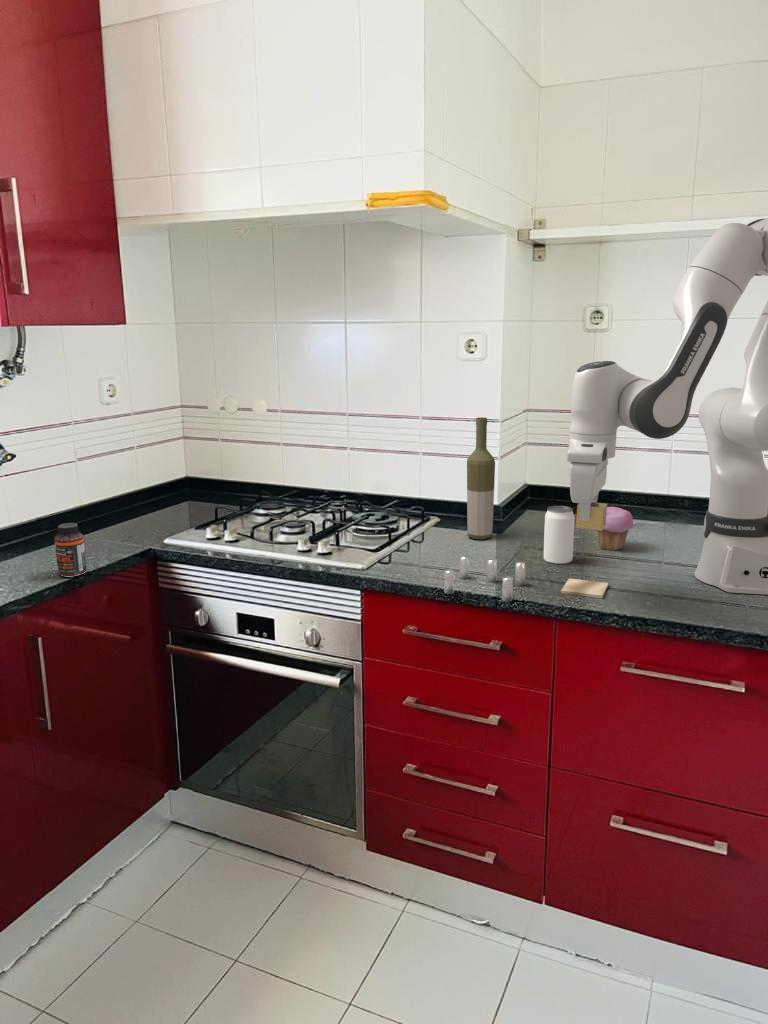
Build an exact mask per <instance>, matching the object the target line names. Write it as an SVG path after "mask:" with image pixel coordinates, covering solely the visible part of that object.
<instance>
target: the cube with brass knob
mask: <svg viewBox="0 0 768 1024" xmlns="http://www.w3.org/2000/svg"><path fill="white" fill-rule="evenodd" d="M607 507H608V503H602V502H598V501H597V502H591V508H590V511H591V517H590V519H589V520H588V521H582V520H580V507H579V503H577V506H576V522H575V528H576V529H584V530H593V531H597V530H600V531H602V530H603V529H604V527H605V526H606V515H607Z"/></svg>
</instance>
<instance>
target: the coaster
mask: <svg viewBox="0 0 768 1024" xmlns="http://www.w3.org/2000/svg"><path fill="white" fill-rule="evenodd" d="M608 587H609V582H604V581H602V582H601V581H595V580H587V579H586V580H583V579H578V578H576V579H575V578H570V577H569V578H568V579H567V581H566V582H565V584H564V586H563V587H562V589H561V591H560V594H562V595H572V596H579V597H587V598H595V599H603V597H604V595H605V593H606V592H607V589H608Z"/></svg>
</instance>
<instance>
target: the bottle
mask: <svg viewBox="0 0 768 1024" xmlns="http://www.w3.org/2000/svg"><path fill="white" fill-rule="evenodd" d="M487 425H488V418H487V417H483V416H482V417H476V419H475V426H476V427H475V448H474V450H473V451H472V453H471V454H470V455H469V456H468V457H467V458H466V459H467V460H466V493H467V494H466V501H467V502H466V504H467V505H466V506H467V507H466V510H467V511H466V512H467V514H466V516H467V518H466V520H467V522H466V523H467V524H466V525H467V536H468V538H471V539H474V540H487V539H490V538H492V537H493V528H494V527H493V525H494V505H495V503H494V501H495V473H496V460H495V457H494V456H493V455H492V453H490V451H489V450H488V448H487V441H488V439H487V434H488V433H487V431H488V428H487V427H488V426H487Z"/></svg>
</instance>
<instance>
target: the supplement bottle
mask: <svg viewBox="0 0 768 1024" xmlns="http://www.w3.org/2000/svg"><path fill="white" fill-rule="evenodd" d="M57 532H58V533H57V535H55V537H54V547H55V548H54V549H55V558H56V565H57V566H56V567H57V573H58V576H59V575H63V576H74V575H78V574H82V573H84V572H85V571H86V570H87V559H86V550H85V548H86V547H85V540H84V535H83V534H82V532H80V530H79V528H78V524H77V523H75V522H67V523H66V522H65V523H61V524H59V525H58V526H57Z"/></svg>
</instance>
